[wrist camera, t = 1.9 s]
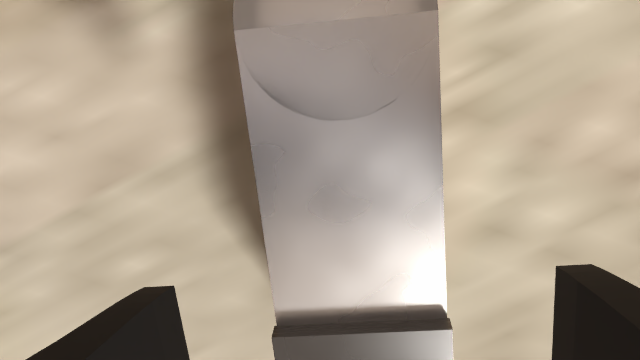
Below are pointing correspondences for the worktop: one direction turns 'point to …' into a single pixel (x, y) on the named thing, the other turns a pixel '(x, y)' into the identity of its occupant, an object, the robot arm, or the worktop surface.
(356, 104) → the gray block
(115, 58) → the worktop surface
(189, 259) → the worktop surface
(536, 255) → the worktop surface
